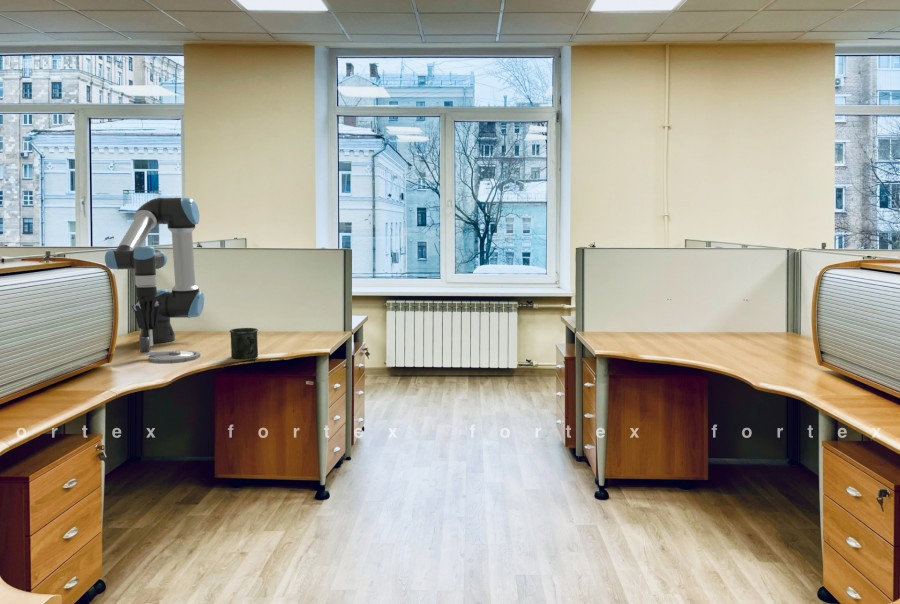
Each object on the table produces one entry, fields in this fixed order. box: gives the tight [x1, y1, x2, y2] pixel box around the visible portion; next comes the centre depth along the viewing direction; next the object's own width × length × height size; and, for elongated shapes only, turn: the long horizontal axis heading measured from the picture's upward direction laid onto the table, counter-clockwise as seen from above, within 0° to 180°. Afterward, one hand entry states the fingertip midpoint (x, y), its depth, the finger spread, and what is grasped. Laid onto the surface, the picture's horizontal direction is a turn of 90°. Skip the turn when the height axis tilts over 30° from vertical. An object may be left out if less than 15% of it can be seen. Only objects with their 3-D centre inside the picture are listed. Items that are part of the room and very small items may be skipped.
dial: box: [138, 337, 194, 359], centre depth 277 cm, size 20×14×8 cm
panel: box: [140, 350, 201, 364], centre depth 278 cm, size 26×26×2 cm
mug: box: [228, 327, 259, 363], centre depth 278 cm, size 11×15×12 cm
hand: (149, 345), depth 279 cm, fingers closed
